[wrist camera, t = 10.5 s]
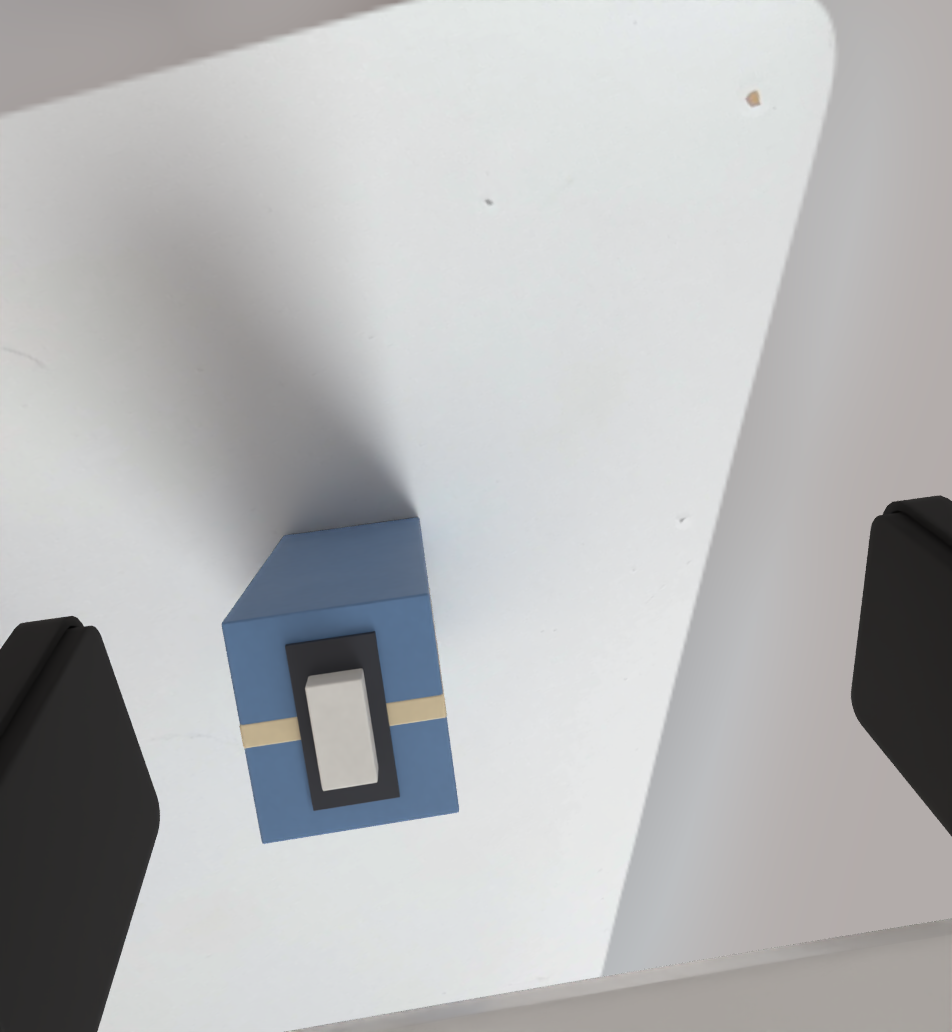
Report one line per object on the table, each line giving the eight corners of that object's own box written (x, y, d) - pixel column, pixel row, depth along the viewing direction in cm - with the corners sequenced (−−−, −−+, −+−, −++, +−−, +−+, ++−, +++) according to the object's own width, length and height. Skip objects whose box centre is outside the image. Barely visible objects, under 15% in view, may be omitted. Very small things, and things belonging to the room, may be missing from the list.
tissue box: (212, 634, 23) (255, 864, 24) (431, 602, 23) (462, 830, 25) (282, 535, 37) (307, 685, 38) (419, 516, 37) (440, 665, 38)
